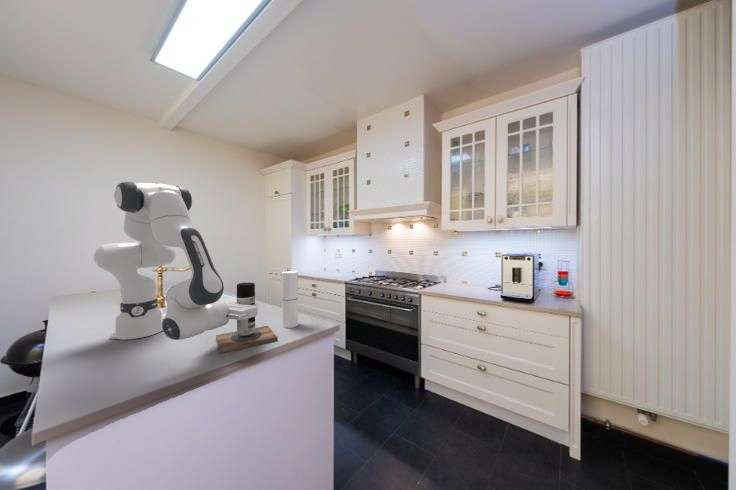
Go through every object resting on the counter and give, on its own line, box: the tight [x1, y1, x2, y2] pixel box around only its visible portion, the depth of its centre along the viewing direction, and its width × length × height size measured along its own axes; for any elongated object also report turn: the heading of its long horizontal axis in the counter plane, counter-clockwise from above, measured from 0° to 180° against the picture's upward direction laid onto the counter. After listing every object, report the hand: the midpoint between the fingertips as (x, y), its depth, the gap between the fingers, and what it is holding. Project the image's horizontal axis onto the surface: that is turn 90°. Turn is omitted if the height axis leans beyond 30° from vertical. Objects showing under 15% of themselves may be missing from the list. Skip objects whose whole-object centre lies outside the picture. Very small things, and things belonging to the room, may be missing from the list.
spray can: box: [236, 282, 256, 336], centre depth 103 cm, size 7×7×20 cm
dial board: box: [215, 325, 278, 354], centre depth 104 cm, size 16×20×2 cm
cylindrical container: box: [281, 270, 299, 329], centre depth 121 cm, size 7×7×25 cm
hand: (247, 304), depth 104 cm, fingers closed on spray can, 6 cm apart
